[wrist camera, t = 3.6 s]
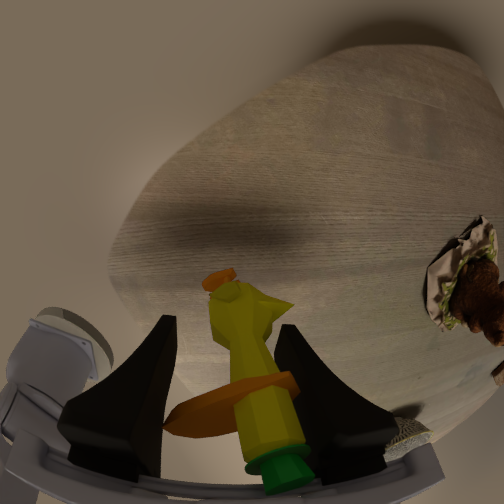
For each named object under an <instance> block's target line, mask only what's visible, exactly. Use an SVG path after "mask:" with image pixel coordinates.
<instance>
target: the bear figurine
mask: <svg viewBox="0 0 504 504" xmlns="http://www.w3.org/2000/svg"><path fill="white" fill-rule="evenodd" d="M480 217H482V220H483V223H482V224H480V225H479V226H477V227H475V228H473V229H471V230H472V232H471V235H470V239H468V240H467V241H466V240H461V239H458V241H459V243H460V245H459V246H458V247H456V249H455V250H454V248H452V249H451V250H450V251H448V252H447V253H446V254H444V255H443V256H442V257H441V258H440V259H438V260H437V261H436V262H435V263H433V264H432V265H431V266H429V267H428V291H427V307H426V308H428V309H427V310H428V312H429V315H430V317H431V319H432V321H433V322H436V324H437V325H438V327H439V328H440V329H441V331H442V332H443V331H448V330H453V329H454V328H455V327H456V326H457V325H458V324H459V323H461V325H462V326H463V327H465V328H467V327H469V328H470V331H471V332H473V333H478V332H480V331H483V332H484V335H485V337H486V338H487V339H488V340H489V341H490V342H491V344H492V345H494V346H495V347H500V346H504V281H502V282H501V283H500V284H498V282H499V269H498V267H497V252H498V245H497V236H496V230H495V229H493V225H492V224H490V222H489V221H487V220H486V219H485V218H484V216H480ZM471 230H470V231H471ZM468 232H469V231H468ZM468 232H467V233H468ZM465 234H466V233H465ZM462 236H463V235H462Z"/></svg>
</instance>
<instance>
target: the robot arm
mask: <svg viewBox="0 0 504 504" xmlns="http://www.w3.org/2000/svg"><path fill="white" fill-rule="evenodd" d="M29 324H30V326H29V327H28V329H27V331H26V332H25V333H24V335H23V336H22V338H21V339H20V341H19V342H18V344H17V345H16V347H15V349H14V350H13V352H12V353H11V355H10V357H9V360H8V363H7V368H6V376H7V381H8V383H7V384H6V385H5V387H4V388H3V390H2V391H1V393H0V504H36V501H37V497H38V493H39V491H41V492H43V493H45V494H47V495H49V496H51V497H54V498H56V499H58V500H60V501H62V502H65V503H67V504H398V503H400V502H402V501H405V500H407V499H409V498H411V497H414V496H416V495H418V494H420V493H421V492H423V491H425V490H427V489H429V488H431V487H432V486H434V485H436V484H438V483H439V482H441V481H443V480H444V479H445V476H444V473H443V471H442V468H441V466H440V464H439V461H438V459H437V457H436V454H435V452H434V449H433V447H432V445H431V443H427V444H424V445H422V446H419V447H417V448H414V449H412V450H410V451H409V452H407V453H406V454H405V455H404V456H403V457H401V458H398V459H395V460H392V461H388V462H386V461H385V458H384V454H385V453H386V450H385V447H384V446H385V445H387V444H388V443H389V442H390V441H391V440H392V439H393V438H394V437H395V436H396V435H397V434H398V432H399V428H398V425H397V423H396V420H395V418H394V416H393V414H392V413H390V412H388V411H386V410H384V409H382V408H380V407H378V406H376V405H375V404H373V403H371V402H370V401H368V400H367V399H365V398H363V397H362V396H360V395H359V394H358V393H356V392H355V391H354V390H352V389H351V388H350V387H348V386H347V385H346V384H345V383H344V382H342V381H341V380H340V379H339V378H338V377H337V376H336V375H335V374H334V373H333V372H332V371H331V370H330V369H329V368H328V367H327V366H326V365H325V364H324V363H323V361H322V360H321V359H320V358H319V357H318V355H317V354H316V353H315V352H314V350H313V349H312V348H311V347H310V345H309V344H308V343H307V341H306V340H305V338H304V337H303V336H302V334H301V333H300V332H299V330H298V329H297V327H296V326H295V325H291V324H282V326H281V330H280V334H279V337H278V341H277V344H276V348H275V351H274V360H275V363H276V365H277V367H278V369H279V371H280V372H285V371H290V372H291V374H292V375H293V377H294V379H295V381H296V383H297V385H298V387H299V389H300V393H299V394H298V395H297V396H296V397H295V398H294V400H293V401H292V403H293V406H294V409H295V412H296V414H297V417H298V420H299V423H300V426H301V428H302V431H303V434H304V437H305V440H306V442H305V444H306V445H308V446H310V448H311V452H310V454H309V455H308V456H307V457H306V458H305V459H304V460H303V461H304V462H305V463H306V465H307V466H308V467H309V468H310V469H311V471H312V472H313V473H314V474H315V475H316V476H315V478H314V479H313V481H312V482H310V483H308V484H306V485H304V486H303V487H301V488H297V489H294V490H290V491H287V492H283V493H279V494H276V495H271V496H266V494H265V489H264V485H263V484H250V485H249V484H247V485H232V484H229V485H228V484H206V483H193V482H184V481H175V480H168V479H162V478H160V476H161V474H160V473H161V447H162V433H163V428H161V427H162V425H163V422H164V412H165V405H166V400H167V396H168V392H169V388H170V383H171V379H172V375H173V371H174V367H175V362H176V354H177V323H176V316H172V315H162V316H161V318H160V319H159V321H158V322H157V324H156V325H155V327H154V328H153V329H152V331H151V332H150V333H149V335H148V336H147V337H146V338H145V340H144V341H143V342H142V344H141V345H140V346H139V347H138V348H137V349H136V350H135V351H134V352H133V354H132V355H131V356H130V357H129V358H128V359H127V360H126V361H125V362H124V363H123V364H122V365H120V366H119V367H118V368H117V369H116V370H115V371H114V372H112V373H111V374H110V375H109V376H107V377H106V378H105V379H103V380H102V381H101V382H99V383H98V384H96V385H95V386H93V387H92V388H90V389H89V390H87V391H85V392H83V393H82V391H83V388H84V386H85V383H86V381H87V378H89V379H92V380H95V381H98V379H99V377H98V373H97V368H96V363H95V358H94V352H93V346H92V342H91V341H90V340H87V339H84V338H81V337H78V336H76V335H73V334H70V333H67V332H64V331H62V330H59V329H56V328H54V327H51V326H49V325H46V324H44V323H41V322H39V321H36V320H34V319H30V320H29ZM2 434H3V435H4V436H5V437H7V438H8V439H10V440H11V441H12V442H13V445H12V446H11V445H10V444H9V443H7V442H6V440H5V439H4V437H3V435H2ZM165 495H167V496H174V497H182V498H193V499H204V500H199V501H187V500H172V499H168V497H167V496H165ZM298 496H301V497H298Z"/></svg>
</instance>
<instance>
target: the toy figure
mask: <svg viewBox="0 0 504 504" xmlns="http://www.w3.org/2000/svg"><path fill="white" fill-rule="evenodd" d="M235 277H236V273H235V271H234V269H233V268H230V269H226V270H223V271H219V272H215V273H213V274H211V275H209V276H208V277H207V278H206V279H205V280H204V281H203V282H202V287H203V288H204V290H205V291H209V292H212V293H211V294H209V296H210V299H211V300H210V301H209V302H208V303H209V314H210V324H211V330H212V335H213V341H215V342H217V343H218V344H220V345H222V346H223V347H225V348H227V349H229V350H230V384H227V385H225V386H222V387H220V388H217V389H215V390H212V391H210V392H207V393H205V394H202V395H199V396H197V397H194V398H192V399H189V400H187V401H185V402H182V403H180V404H178V405H177V406H176V407H175V408H174V409H173V410H172V411H171V413H170V414H169V416H168V417H167V419H166V420H165V422H164V424H163V425H162V427H161V428H163V429H164V430H166V431H168V432H170V433H171V434H173V435H177V436H183V437H189V438H206V437H214V436H220V435H224V434H229V433H233V432H237V431H238V434H239V439H240V444H241V449H242V454H243V458H244V461H245V462H247V463H248V464H247V465H246V466H245V471H246V473H247V474H250V475H262V480H263V485H264V489H265V494H266V496H271V495H276V494H279V493H283V492H287V491H290V490H294V489H297V488H301V487H303V486H304V485H306V484H308V483H310V482H312V481H313V479H314V478H315V476H316V475H315V474H314V473H313V472H312V471H311V469H310V468H309V467H308V466H307V465H306V463H305V462H304V461H303V460H304V459H305V458H306V457H307V456H308V455H309V454H310V452H311V448H310V446H308V445H306V444H305V442H306V440H305V437H304V434H303V431H302V428H301V426H300V423H299V420H298V417H297V414H296V412H295V409H294V406H293V403H292V401H293V400H294V398H295V397H296V396H297V395H298V394H299V393H300V389H299V387H298V385H297V383H296V381H295V379H294V377H293V375H292V374H291V372H290V371H285V372H280V371H279V369H278V367H277V365H276V363H275V362H274V360H273V358H272V356H271V354H270V352H269V350H268V348H267V346H266V344H265V342H266V340H267V339H268V338H269V336H270V335H271V333H272V323H273V322H274V321H275V320H276V319H278V318H279V317H280V316H281V315H283V314H284V313H285V312H286V311H288V310H289V309H290V308H291V307H293V306H294V304H291V303H288V302H285V301H282V300H279V299H276V298H273V297H270V296H267V295H265V294H263V293H262V292H260V291H259V290H258V289H256V288H255V287H253V286H252V285H250V284H249V283H240V281H239V280H236V281H232V280H233V279H234V278H235ZM231 281H232V282H231Z"/></svg>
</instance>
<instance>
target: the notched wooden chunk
mask: <svg viewBox="0 0 504 504" xmlns="http://www.w3.org/2000/svg"><path fill="white" fill-rule="evenodd" d="M492 375H493V378H494V380H495V383H496V385H498V386H501V385H503V384H504V362H503V363H502V364H501V365H500V366H499V367H498V368H497V369H496V370H495V371H493V372H492Z"/></svg>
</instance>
